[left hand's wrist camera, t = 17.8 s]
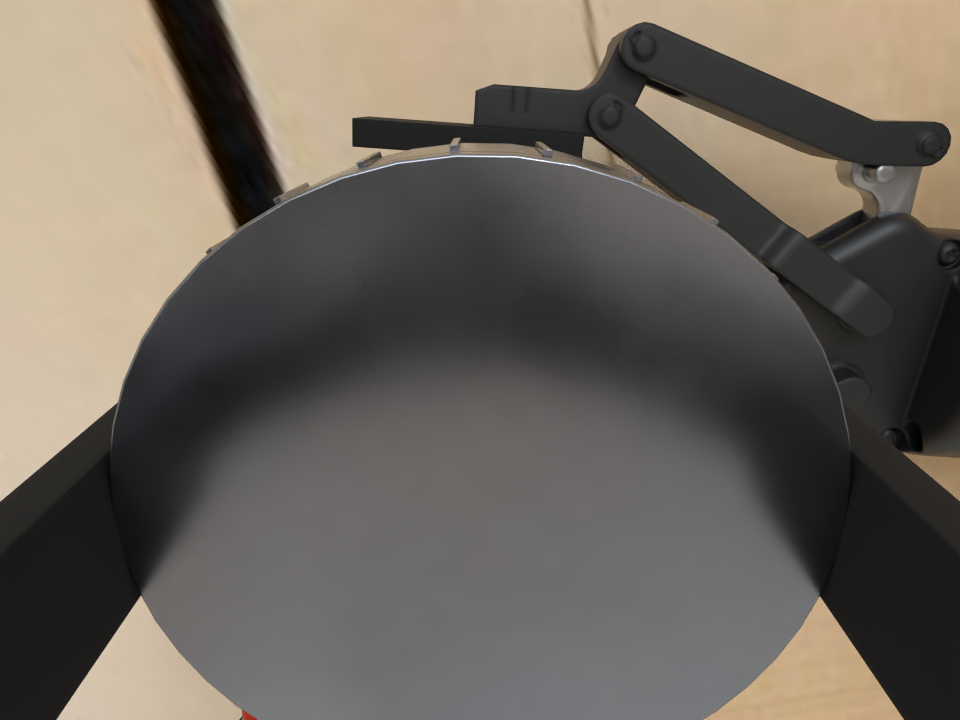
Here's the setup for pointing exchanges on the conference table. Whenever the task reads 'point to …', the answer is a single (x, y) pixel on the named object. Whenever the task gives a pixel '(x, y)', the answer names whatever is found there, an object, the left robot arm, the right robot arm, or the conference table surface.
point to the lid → (480, 450)
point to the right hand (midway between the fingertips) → (360, 304)
